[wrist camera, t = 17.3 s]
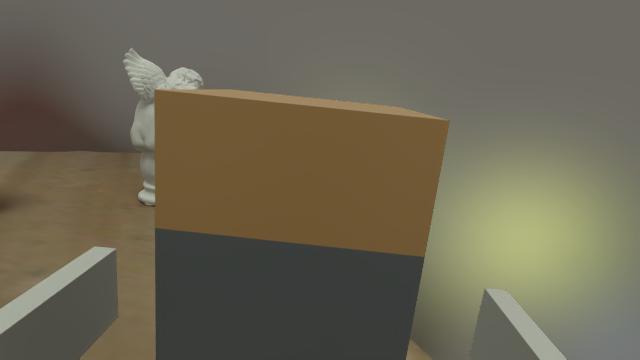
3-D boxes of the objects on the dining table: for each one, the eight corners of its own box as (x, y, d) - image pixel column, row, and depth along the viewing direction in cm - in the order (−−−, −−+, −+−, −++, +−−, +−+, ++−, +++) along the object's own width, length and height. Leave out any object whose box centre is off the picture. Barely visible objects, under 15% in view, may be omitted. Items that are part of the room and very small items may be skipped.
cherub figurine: (187, 188, 66) (191, 59, 61) (226, 208, 57) (235, 61, 53) (112, 196, 57) (110, 46, 52) (146, 221, 49) (147, 46, 44)
